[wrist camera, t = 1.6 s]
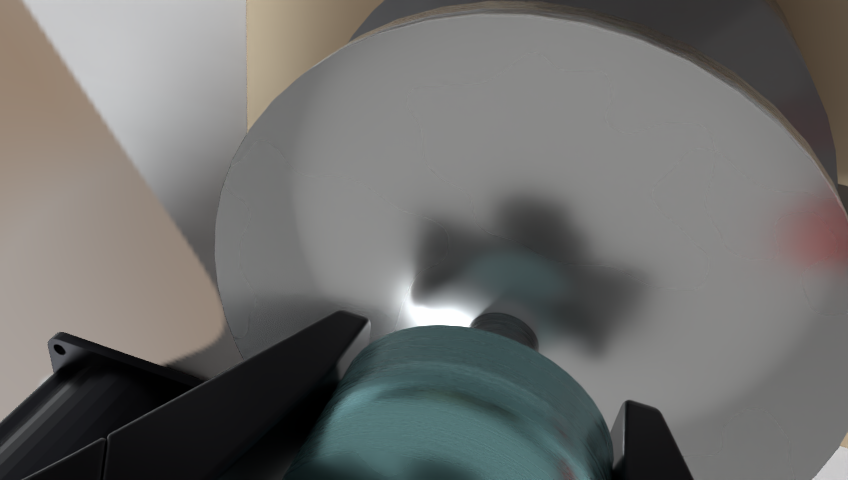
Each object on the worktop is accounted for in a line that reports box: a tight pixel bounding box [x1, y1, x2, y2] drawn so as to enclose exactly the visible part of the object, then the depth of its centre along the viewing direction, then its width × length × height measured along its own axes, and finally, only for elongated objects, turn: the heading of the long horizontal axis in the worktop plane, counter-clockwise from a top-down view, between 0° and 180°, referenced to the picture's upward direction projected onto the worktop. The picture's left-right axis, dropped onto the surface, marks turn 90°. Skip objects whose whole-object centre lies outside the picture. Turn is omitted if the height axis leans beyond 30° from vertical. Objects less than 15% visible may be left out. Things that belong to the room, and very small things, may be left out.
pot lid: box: [214, 1, 848, 480], centre depth 8 cm, size 9×9×4 cm
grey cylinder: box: [348, 0, 848, 215], centre depth 14 cm, size 12×9×4 cm
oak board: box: [246, 0, 848, 448], centre depth 16 cm, size 18×13×1 cm
